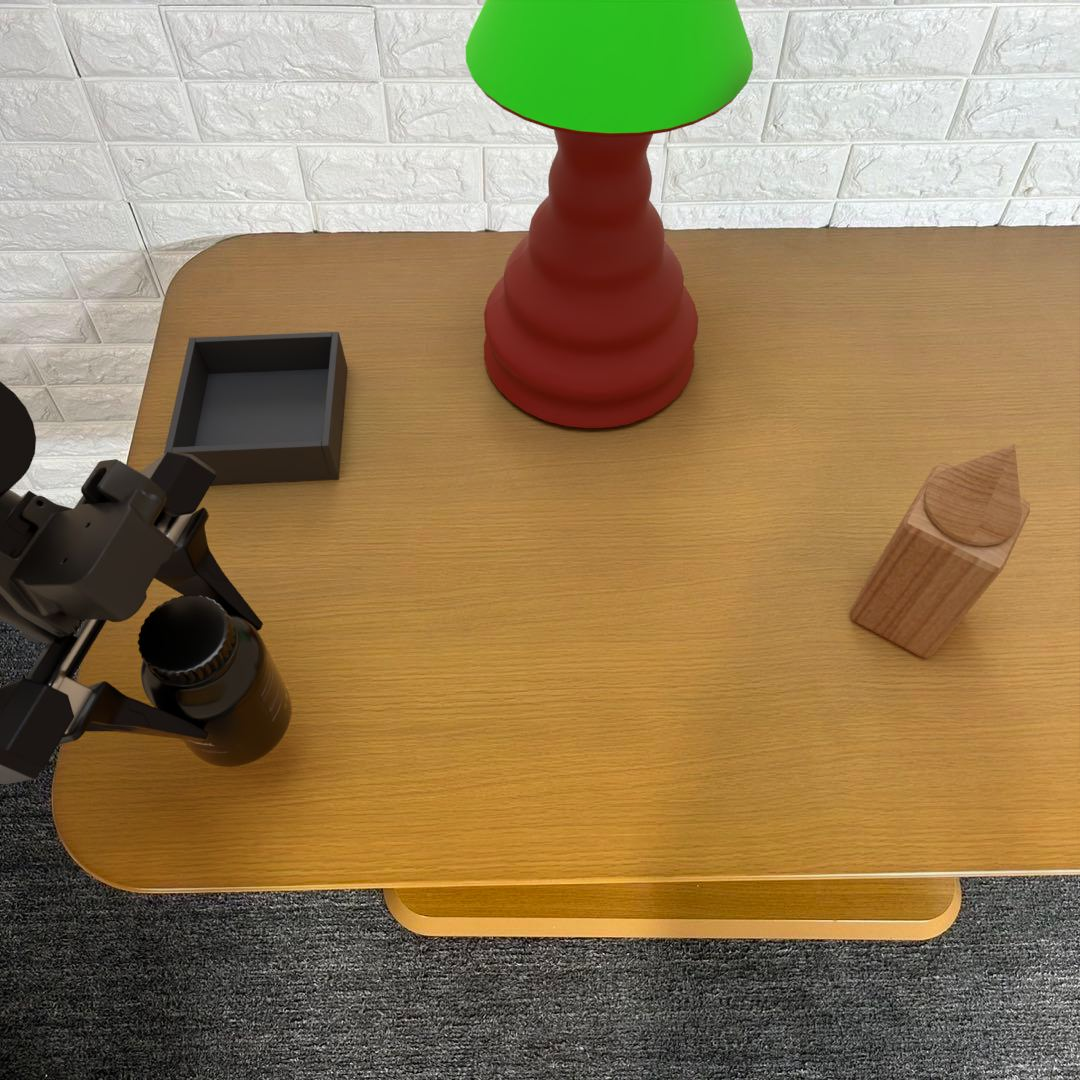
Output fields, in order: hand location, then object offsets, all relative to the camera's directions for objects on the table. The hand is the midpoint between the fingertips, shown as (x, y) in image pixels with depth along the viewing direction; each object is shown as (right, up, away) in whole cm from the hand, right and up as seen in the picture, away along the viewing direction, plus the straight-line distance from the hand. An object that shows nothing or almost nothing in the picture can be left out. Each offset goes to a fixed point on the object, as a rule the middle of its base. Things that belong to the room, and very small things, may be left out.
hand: (232, 681), depth 52 cm
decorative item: (+46, +3, +18) cm, 49 cm away
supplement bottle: (-1, -3, +6) cm, 7 cm away
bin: (-6, +18, +28) cm, 34 cm away
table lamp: (+22, +26, +33) cm, 48 cm away
